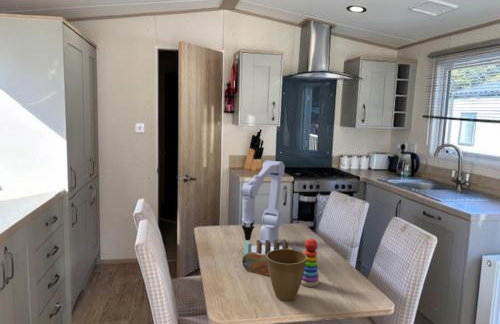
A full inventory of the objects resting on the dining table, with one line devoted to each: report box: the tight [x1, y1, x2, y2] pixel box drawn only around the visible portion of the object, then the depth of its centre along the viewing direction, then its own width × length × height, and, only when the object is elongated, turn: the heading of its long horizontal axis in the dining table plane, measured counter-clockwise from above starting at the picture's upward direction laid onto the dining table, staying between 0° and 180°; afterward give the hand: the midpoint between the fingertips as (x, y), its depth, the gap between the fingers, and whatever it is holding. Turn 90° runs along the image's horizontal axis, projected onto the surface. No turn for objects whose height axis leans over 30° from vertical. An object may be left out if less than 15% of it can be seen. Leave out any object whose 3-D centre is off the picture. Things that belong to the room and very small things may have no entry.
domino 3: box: [264, 240, 272, 255], centre depth 182 cm, size 2×5×7 cm, turn 10°
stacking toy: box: [301, 238, 320, 288], centre depth 152 cm, size 8×8×19 cm
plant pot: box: [267, 248, 307, 302], centre depth 141 cm, size 15×15×16 cm
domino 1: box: [243, 240, 252, 256], centre depth 180 cm, size 2×5×7 cm, turn 24°
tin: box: [241, 251, 270, 276], centre depth 162 cm, size 15×3×8 cm, turn 62°
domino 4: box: [273, 239, 281, 250], centre depth 183 cm, size 2×5×7 cm, turn 10°
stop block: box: [291, 245, 303, 253], centre depth 185 cm, size 3×7×3 cm, turn 10°
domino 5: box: [281, 239, 289, 249], centre depth 184 cm, size 2×5×7 cm, turn 10°
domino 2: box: [255, 239, 263, 254], centre depth 181 cm, size 2×5×7 cm, turn 10°
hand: (248, 237), depth 180 cm, fingers open, 7 cm apart
